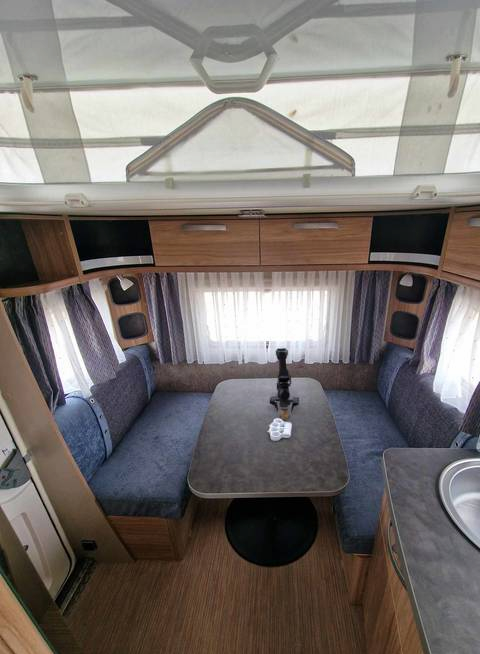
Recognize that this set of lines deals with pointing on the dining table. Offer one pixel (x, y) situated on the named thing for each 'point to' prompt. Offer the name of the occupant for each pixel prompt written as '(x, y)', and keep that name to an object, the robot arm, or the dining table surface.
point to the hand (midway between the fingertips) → (284, 411)
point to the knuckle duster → (279, 429)
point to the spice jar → (284, 412)
